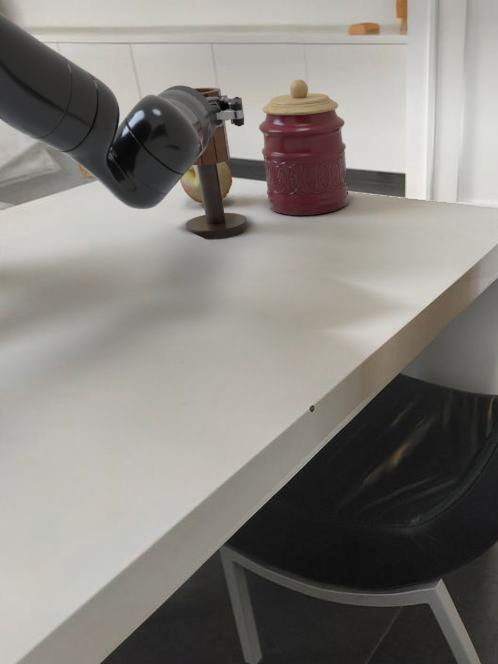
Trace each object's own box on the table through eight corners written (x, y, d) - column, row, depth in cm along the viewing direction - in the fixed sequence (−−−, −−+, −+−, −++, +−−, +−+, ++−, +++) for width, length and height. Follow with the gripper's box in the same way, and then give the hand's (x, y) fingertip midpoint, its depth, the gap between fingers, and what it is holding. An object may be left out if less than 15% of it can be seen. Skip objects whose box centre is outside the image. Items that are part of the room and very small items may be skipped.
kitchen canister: (252, 208, 110) (235, 82, 100) (310, 190, 118) (300, 72, 107) (306, 221, 103) (294, 87, 92) (365, 202, 110) (360, 76, 100)
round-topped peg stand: (203, 243, 97) (186, 143, 89) (176, 229, 103) (157, 134, 95) (259, 229, 101) (246, 132, 93) (229, 217, 107) (215, 125, 99)
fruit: (181, 201, 115) (172, 150, 111) (230, 195, 118) (222, 144, 113) (189, 213, 110) (179, 159, 105) (240, 205, 112) (232, 152, 107)
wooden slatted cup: (196, 167, 92) (183, 95, 87) (175, 160, 97) (162, 91, 92) (238, 159, 95) (228, 90, 90) (216, 153, 100) (205, 86, 95)
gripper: (234, 86, 78) (248, 70, 92) (109, 93, 78) (141, 76, 92) (244, 157, 83) (256, 132, 96) (125, 164, 83) (154, 138, 96)
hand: (200, 105), depth 94 cm, fingers closed on wooden slatted cup, 6 cm apart
